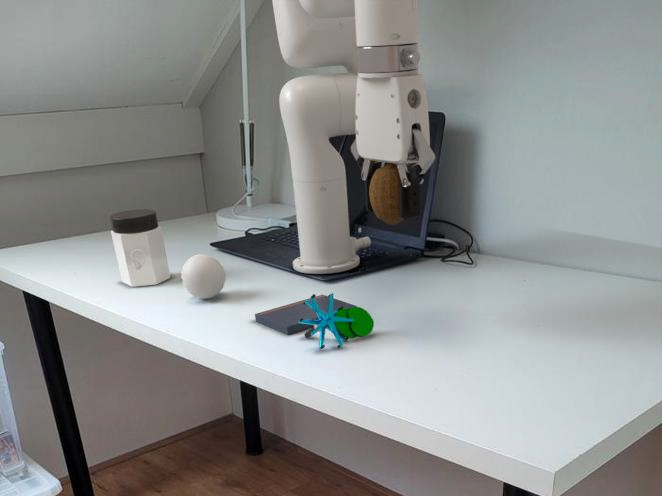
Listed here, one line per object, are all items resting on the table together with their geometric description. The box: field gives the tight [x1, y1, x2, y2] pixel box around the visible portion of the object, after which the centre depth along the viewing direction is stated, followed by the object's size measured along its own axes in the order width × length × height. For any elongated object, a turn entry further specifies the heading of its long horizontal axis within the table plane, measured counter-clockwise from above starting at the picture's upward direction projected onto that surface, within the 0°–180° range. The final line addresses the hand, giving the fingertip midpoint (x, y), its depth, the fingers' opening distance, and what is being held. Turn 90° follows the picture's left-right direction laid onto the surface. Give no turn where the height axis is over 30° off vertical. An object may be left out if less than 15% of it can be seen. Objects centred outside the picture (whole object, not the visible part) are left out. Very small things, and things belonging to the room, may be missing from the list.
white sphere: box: [171, 253, 226, 300], centre depth 127 cm, size 10×7×7 cm
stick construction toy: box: [298, 292, 375, 351], centre depth 106 cm, size 12×7×8 cm
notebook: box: [254, 294, 358, 335], centre depth 116 cm, size 13×9×1 cm
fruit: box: [369, 162, 410, 226], centre depth 101 cm, size 6×6×8 cm
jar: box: [109, 208, 171, 288], centre depth 137 cm, size 9×8×12 cm
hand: (392, 212), depth 102 cm, fingers closed on fruit, 6 cm apart
